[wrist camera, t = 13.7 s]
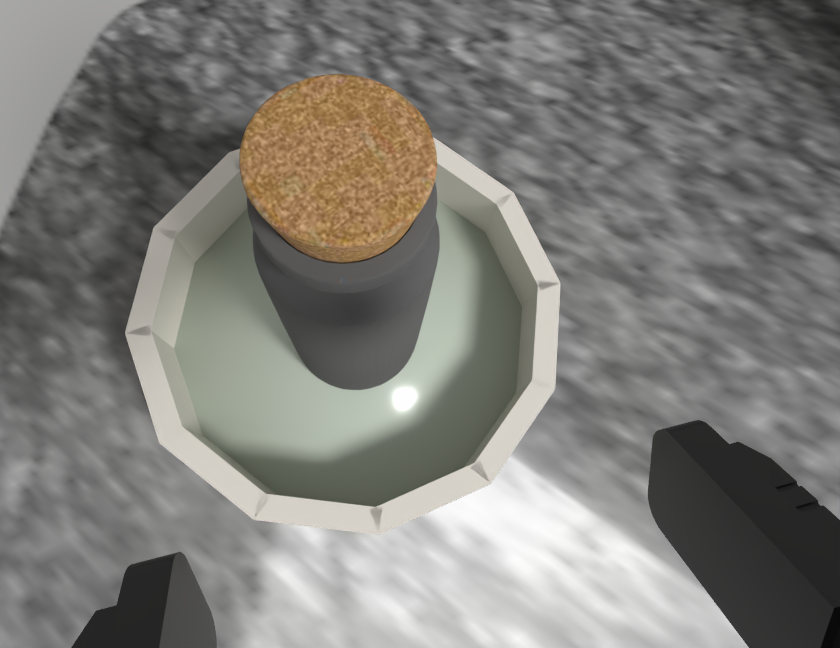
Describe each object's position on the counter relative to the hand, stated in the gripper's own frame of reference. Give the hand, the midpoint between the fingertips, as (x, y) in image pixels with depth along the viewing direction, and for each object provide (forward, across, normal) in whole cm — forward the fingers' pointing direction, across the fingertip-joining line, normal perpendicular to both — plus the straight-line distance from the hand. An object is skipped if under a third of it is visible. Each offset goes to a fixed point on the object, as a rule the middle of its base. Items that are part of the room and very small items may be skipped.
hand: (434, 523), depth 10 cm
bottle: (+18, 0, +6) cm, 19 cm away
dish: (+19, 0, +7) cm, 20 cm away
